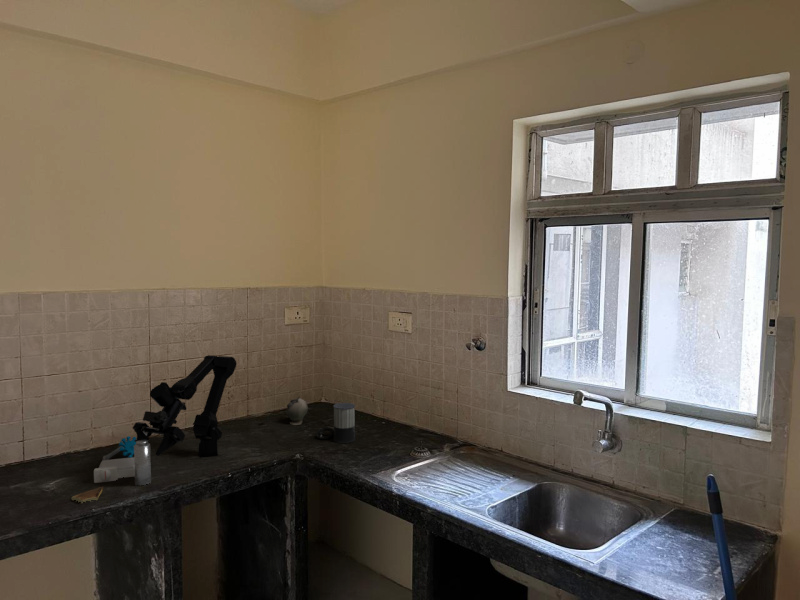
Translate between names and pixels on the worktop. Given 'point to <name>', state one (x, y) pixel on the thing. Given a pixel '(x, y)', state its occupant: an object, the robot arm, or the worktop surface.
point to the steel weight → (142, 462)
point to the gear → (128, 446)
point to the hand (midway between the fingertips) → (146, 453)
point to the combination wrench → (112, 453)
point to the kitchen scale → (114, 470)
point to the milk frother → (341, 424)
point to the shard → (88, 495)
